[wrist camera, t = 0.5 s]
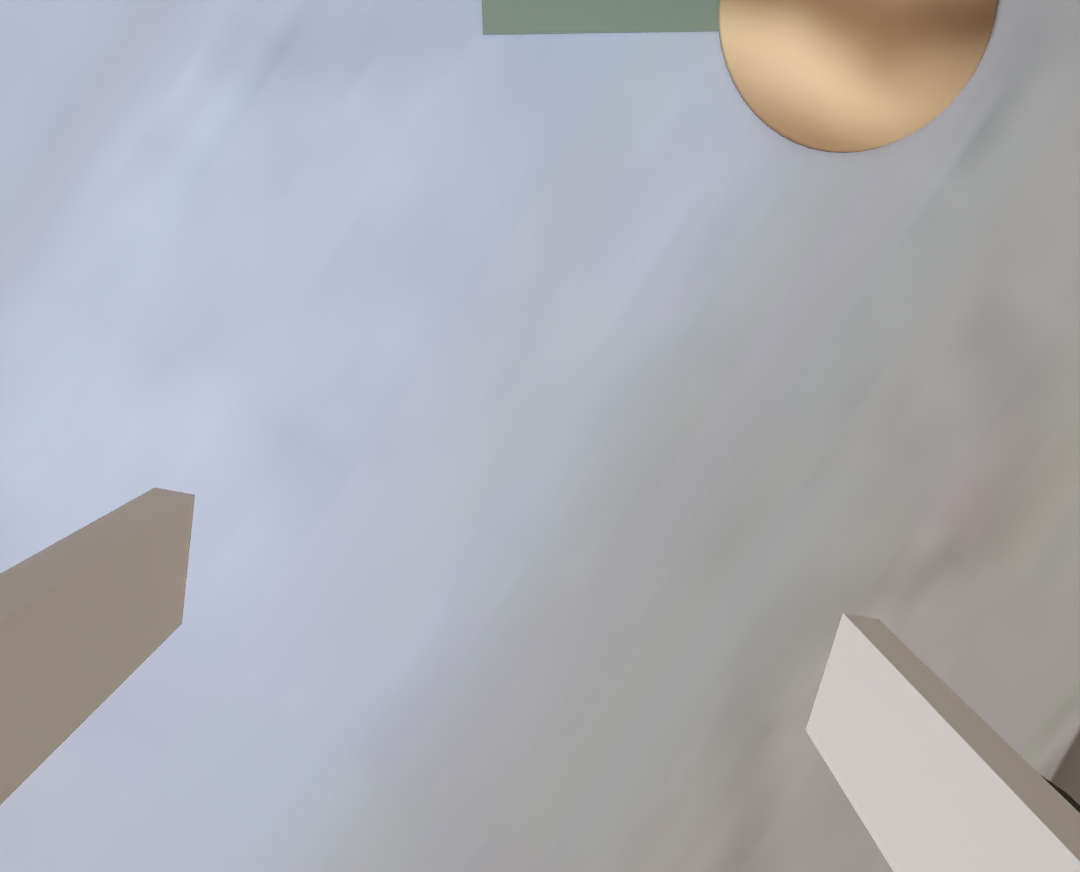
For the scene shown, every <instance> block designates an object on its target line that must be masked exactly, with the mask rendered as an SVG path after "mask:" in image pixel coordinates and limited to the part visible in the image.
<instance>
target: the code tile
mask: <svg viewBox="0 0 1080 872" xmlns="http://www.w3.org/2000/svg"><path fill="white" fill-rule="evenodd" d="M719 1H720V0H482V12H483V35H498V34H564V33H631V32H697V31H719V30H720V29H719Z"/></svg>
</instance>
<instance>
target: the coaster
mask: <svg viewBox="0 0 1080 872" xmlns="http://www.w3.org/2000/svg"><path fill="white" fill-rule="evenodd" d="M996 6H997V0H720V1H719V29H720V30H719V36H720V42H721V49H722V52H723V56H724V59H725V63H726V66H727V69H728V71H729V74H730V76H731V78H732V81H733V83H734V85H735V87H736V88H737V90H738V92H739V93H740V95H741V97H742V98H743V100H744V101H745V102H746V104H747V105H748V106H749V108H750V109H751V110H752V111H753V113H754V114H755V115H756V116H757V117H758V118H759V119H761V120H762V121H763V122H764V123H765V124H766V125H767V126H768V127H770V128H771V129H772V130H774V131H775V132H777V133H778V134H779V135H781V136H783V137H785V138H787V139H789V140H790V141H792V142H794V143H797V144H799V145H802V146H805V147H808V148H811V149H815V150H821V151H826V152H839V153H848V152H860V151H866V150H870V149H874V148H879V147H882V146H884V145H887V144H890V143H892V142H895V141H898V140H900V139H902V138H904V137H906V136H908V135H910V134H912V133H914V132H916V131H918V130H919V129H920V128H922V127H923V126H925V125H926V124H928V123H929V122H931V121H932V120H933V119H934V118H936V117H937V116H938V115H939V114H940V113H941V112H942V111H943V110H945V109H946V108H947V107H948V106H949V105H950V103H951V102H952V101H953V100H954V99H955V98H956V97H957V96H958V94H959V93H960V92H961V91H962V89H963V88H964V86H965V85H966V84H967V82H968V81H969V79H970V78H971V76H972V75H973V73H974V71H975V69H976V67H977V65H978V64H979V62H980V60H981V58H982V55H983V53H984V51H985V48H986V46H987V43H988V41H989V37H990V34H991V30H992V27H993V23H994V18H995V12H996Z"/></svg>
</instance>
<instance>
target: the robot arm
mask: <svg viewBox="0 0 1080 872" xmlns="http://www.w3.org/2000/svg"><path fill="white" fill-rule="evenodd" d="M194 499H195V495H192V494H187V493H182V492H176V491H171V490H165V489H160V488H153V489H151V490H150V491H148V492H146V493H144V494H142V495H141V496H139V497H137V498H135V499H133V500H132V501H130V502H128V503H126V504H124V505H123V506H121V507H119V508H117V509H116V510H114V511H112V512H110V513H108V514H107V515H105V516H103V517H101V518H99V519H98V520H96V521H94V522H92V523H90V524H89V525H87V526H85V527H83V528H82V529H80V530H78V531H76V532H74V533H73V534H71V535H69V536H67V537H65V538H64V539H62V540H60V541H58V542H56V543H55V544H53V545H51V546H49V547H48V548H46V549H44V550H42V551H40V552H39V553H37V554H35V555H33V556H31V557H30V558H28V559H26V560H24V561H22V562H21V563H19V564H17V565H15V566H14V567H12V568H10V569H8V570H6V571H5V572H3V573H1V574H0V805H1V804H2V803H3V802H4V801H5V800H6V799H7V798H8V797H9V796H10V795H11V794H12V793H13V792H14V791H15V790H16V789H17V788H18V787H19V786H20V785H21V784H22V783H23V782H24V781H25V780H26V779H27V778H28V777H29V776H30V775H31V774H32V773H33V772H34V771H35V770H36V769H37V768H38V767H39V766H40V765H41V764H42V763H43V762H44V761H45V760H46V759H47V758H48V757H49V756H50V755H51V754H52V753H53V752H54V751H55V750H56V749H57V748H58V747H59V746H60V745H61V744H62V743H63V742H64V741H65V740H66V739H67V738H68V737H69V736H70V735H71V734H72V733H73V732H74V731H75V730H76V729H77V728H78V727H79V726H80V725H81V724H82V723H83V722H84V721H85V720H86V719H87V718H88V717H89V716H90V715H91V714H92V713H93V712H94V711H95V710H96V709H97V708H98V707H99V706H100V705H101V704H102V703H103V702H104V701H105V700H106V699H107V698H108V697H109V696H110V695H111V694H112V693H113V692H114V691H115V690H116V689H117V688H118V687H119V686H120V685H121V684H122V683H123V682H124V681H125V680H126V679H127V678H128V677H129V676H130V675H131V674H132V673H133V672H134V671H135V670H136V669H137V668H138V667H139V666H140V665H141V664H142V663H143V662H144V661H145V660H146V659H147V658H148V657H149V656H150V655H151V654H152V653H153V652H154V651H155V650H156V649H157V648H158V647H159V646H160V645H161V644H162V643H163V642H164V641H165V640H166V639H167V638H168V637H169V636H170V635H171V634H172V633H173V632H174V631H175V630H176V629H177V628H178V627H179V626H180V625H181V624H182V617H183V607H184V597H185V588H186V578H187V568H188V558H189V548H190V538H191V528H192V519H193V509H194ZM806 731H807V733H808V735H809V736H810V738H811V740H812V741H813V743H814V744H815V746H816V748H817V749H818V751H819V752H820V754H821V756H822V757H823V759H824V760H825V762H826V764H827V765H828V767H829V769H830V770H831V772H832V773H833V775H834V777H835V778H836V780H837V781H838V783H839V785H840V786H841V788H842V789H843V791H844V793H845V794H846V796H847V797H848V799H849V801H850V802H851V804H852V806H853V807H854V809H855V810H856V812H857V814H858V815H859V817H860V818H861V820H862V822H863V823H864V825H865V826H866V828H867V830H868V831H869V833H870V834H871V836H872V838H873V839H874V841H875V843H876V844H877V846H878V847H879V849H880V851H881V852H882V854H883V855H884V857H885V859H886V860H887V862H888V863H889V865H890V867H891V868H892V870H893V872H1080V805H1079V804H1077V803H1076V802H1075V801H1074V800H1073V799H1072V798H1071V797H1070V796H1069V795H1068V794H1067V793H1066V792H1064V791H1063V790H1062V789H1060V788H1059V787H1057V786H1056V785H1054V784H1053V783H1051V782H1050V781H1048V780H1047V779H1046V778H1044V777H1043V776H1041V775H1040V774H1039V773H1038V772H1037V771H1036V770H1035V769H1033V768H1032V767H1031V766H1030V765H1029V764H1028V763H1027V762H1026V761H1025V760H1024V759H1023V758H1022V757H1021V756H1020V755H1019V754H1018V753H1017V752H1016V751H1015V750H1014V749H1013V748H1012V747H1011V746H1010V745H1009V744H1008V743H1006V742H1005V741H1004V740H1003V739H1002V738H1001V737H1000V736H999V735H998V734H997V733H996V732H995V731H994V730H993V729H992V728H991V727H990V726H989V725H988V724H987V723H986V722H985V721H984V720H983V719H982V718H981V717H979V716H978V715H977V714H976V713H975V712H974V711H973V710H972V709H971V708H970V707H969V706H968V705H967V704H966V703H965V702H964V701H963V700H962V699H961V698H960V697H959V696H958V695H957V694H956V693H955V692H953V691H952V690H951V689H950V688H949V687H948V686H947V685H946V684H945V683H944V682H943V681H942V680H941V679H940V678H939V677H938V676H937V675H936V674H935V673H934V672H933V671H932V670H931V669H930V668H929V667H928V666H926V665H925V664H924V663H923V662H922V661H921V660H920V659H919V658H918V657H917V656H916V655H915V654H914V653H913V652H912V651H911V650H910V649H909V648H908V647H907V646H906V645H905V644H904V643H903V642H902V641H900V640H899V639H898V638H897V637H896V636H895V635H894V634H893V633H892V632H891V631H890V630H889V629H888V628H887V627H886V626H885V625H884V624H883V623H882V622H881V621H880V620H879V619H873V618H868V617H862V616H857V615H851V614H846V613H843V615H842V618H841V621H840V624H839V627H838V631H837V634H836V637H835V640H834V643H833V646H832V649H831V653H830V656H829V659H828V662H827V665H826V668H825V671H824V675H823V678H822V681H821V684H820V687H819V690H818V693H817V697H816V700H815V703H814V706H813V709H812V712H811V715H810V719H809V722H808V725H807V728H806Z"/></svg>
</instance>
